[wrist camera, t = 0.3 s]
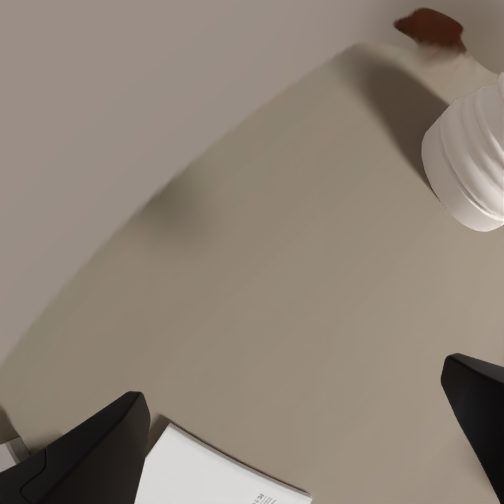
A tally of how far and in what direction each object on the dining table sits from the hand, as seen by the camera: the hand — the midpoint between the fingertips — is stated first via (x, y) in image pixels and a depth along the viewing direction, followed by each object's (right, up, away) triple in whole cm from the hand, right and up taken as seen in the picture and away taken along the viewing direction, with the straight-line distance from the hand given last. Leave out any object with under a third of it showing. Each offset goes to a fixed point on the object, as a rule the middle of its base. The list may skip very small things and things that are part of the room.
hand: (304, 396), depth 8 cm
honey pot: (+21, +12, +20) cm, 31 cm away
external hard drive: (-4, -15, +12) cm, 20 cm away
